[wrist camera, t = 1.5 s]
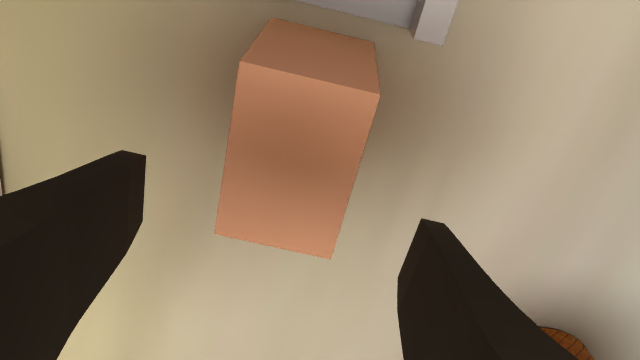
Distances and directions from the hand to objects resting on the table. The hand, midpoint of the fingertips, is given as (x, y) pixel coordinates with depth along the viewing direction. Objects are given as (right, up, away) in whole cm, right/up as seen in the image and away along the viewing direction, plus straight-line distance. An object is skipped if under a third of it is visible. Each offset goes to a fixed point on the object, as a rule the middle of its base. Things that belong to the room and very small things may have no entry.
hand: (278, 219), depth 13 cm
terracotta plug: (0, +4, +8) cm, 9 cm away
